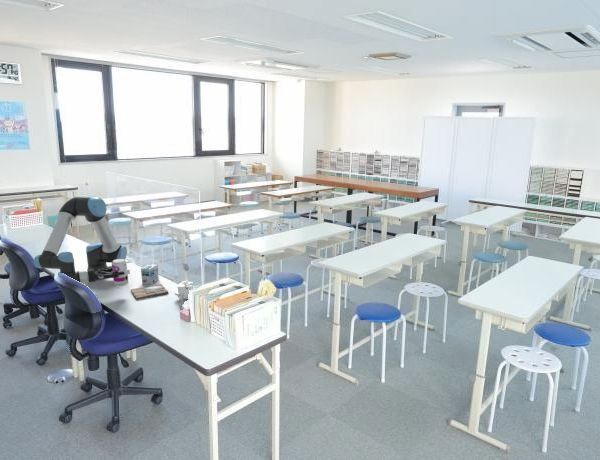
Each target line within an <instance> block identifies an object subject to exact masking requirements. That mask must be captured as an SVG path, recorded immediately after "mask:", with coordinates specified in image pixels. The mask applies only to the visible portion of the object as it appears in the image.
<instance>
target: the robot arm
mask: <svg viewBox="0 0 600 460" xmlns="http://www.w3.org/2000/svg"><path fill="white" fill-rule="evenodd" d="M106 214H107V204H106V201H105V200H103V198H100V197H96V196H92V197H91V196H90V197H89V196H86V197H85V196H84V197H83V196H74V197H72V198H70V199H68V200H67V201H66V202H65V203H64V204H63V205H62V206H61V208H60V210H59V212H58V213H57V216H58V218H57V220H56V222H55V224H54V226H53V228H52V231H51V233H50V236H49V237H48V240H47V242H46V244H45V246H44V249H43V251H42V252H41V254H38V255H36V256H34V258H33V265H34V266H35V268H36V269H37V268H38V269H43V270H44V269H51V270H52V269H53V270H59V274H60V273H64V274H66V275H67V276H69V277H71V278H73V279H75V280H77V281H79V282H81V283H83V284H82V285H84V284H87V283H93V282H96V281H97V280H101V281H102V280H106V279H107V280H108V279H113V278H118V277H119V276H120V275H126V274H128V275H130V274H131V270H130V269H128V268H127V270H122V271H118V272H113V271H112V265H111V266H108V265H107V263H111V264H112V262H113V260H116V259H125V260H126V259H127V255H128V250H127V249H128V248H127V247H126V246H125V245H121V242H120V241H118V240H116V238H115V236H114V233H113V232H112V230H111V228H110V226H109V224H108V222H107V219H106V217H105V216H106ZM77 217H84V218H85V220H86V221H87V222H89V223H90V224H91V225H92V228H93V230H94V231H95V234H96V235H97V236H98V237H97V238H98V239H99V241H100V242H94V243H91V244H88V245H87V246H86V247H85V253H86V259H87V260H86V261H87V262H86V263H87V269H83V270H78V271H76V269H75V259H74V255H73V253H72V251H63V252H60V253H59V251H60V249H61V247H62V245H63V242H64V240H65V238H66V236H67V233H68V231H69V228H70V226H71V224H72V222H74V221H75V219H76V218H77ZM58 287H59V288H61V287H60V286H59V285H58Z"/></svg>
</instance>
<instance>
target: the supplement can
mask: <svg viewBox="0 0 600 460" xmlns="http://www.w3.org/2000/svg"><path fill="white" fill-rule="evenodd" d="M127 264H128V263H127V261H126V259H116V260H113V262H112V263H111V266H112V271H113V272H118V271H122V270H128V265H127ZM112 281H113V285H114V286H115V287H123V286H126V285H128V284H129V274H126V275H120V276H119V277H118V278H112Z"/></svg>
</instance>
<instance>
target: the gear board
mask: <svg viewBox="0 0 600 460" xmlns="http://www.w3.org/2000/svg"><path fill="white" fill-rule="evenodd" d="M130 293H131V294H132V295H133V297H134V298H135V300H136V301H139V300H144V299H150V298H154V297H155V298H156V297H159V296H165V295H169V291H168V290H167V288H166V287H165V286H164V285H163V284H162V283H159V284H154V285H153V284H151V285H149V286H142V287H137V288H132V289H130Z"/></svg>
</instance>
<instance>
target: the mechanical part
mask: <svg viewBox="0 0 600 460" xmlns="http://www.w3.org/2000/svg"><path fill="white" fill-rule="evenodd" d="M193 288H195V289H196V286H195V285H194V282H193V281H189V280H188V279H185V280H183V281H181V282H179V284H178V285H177V289H175V290H174V295H175V296H177V297H178V299H179V300H181V302H183V300H185V299H188V294H189V290H191V289H193ZM188 300H189V299H188Z"/></svg>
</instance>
